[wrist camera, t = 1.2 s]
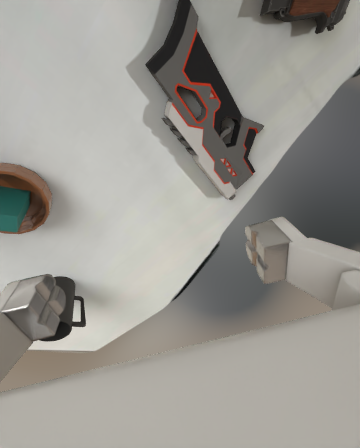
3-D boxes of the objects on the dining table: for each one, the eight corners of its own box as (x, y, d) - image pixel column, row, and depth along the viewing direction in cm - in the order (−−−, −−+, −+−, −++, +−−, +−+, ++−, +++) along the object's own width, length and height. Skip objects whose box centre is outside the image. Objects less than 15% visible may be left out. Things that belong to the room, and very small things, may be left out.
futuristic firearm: (271, 155, 54) (224, 198, 56) (187, -15, 33) (116, 64, 35) (279, 158, 51) (229, 203, 53) (195, -22, 30) (118, 63, 33)
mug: (39, 294, 55) (28, 341, 46) (47, 274, 53) (37, 319, 43) (82, 299, 60) (80, 341, 51) (91, 280, 58) (90, 322, 48)
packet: (-4, 185, 39) (-25, 211, 32) (30, 191, 41) (17, 216, 34) (-3, 200, 40) (-24, 228, 33) (30, 205, 42) (17, 232, 35)
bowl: (-47, 188, 38) (-59, 199, 34) (10, 148, 37) (2, 155, 34) (18, 232, 45) (13, 244, 42) (66, 199, 44) (64, 209, 41)
